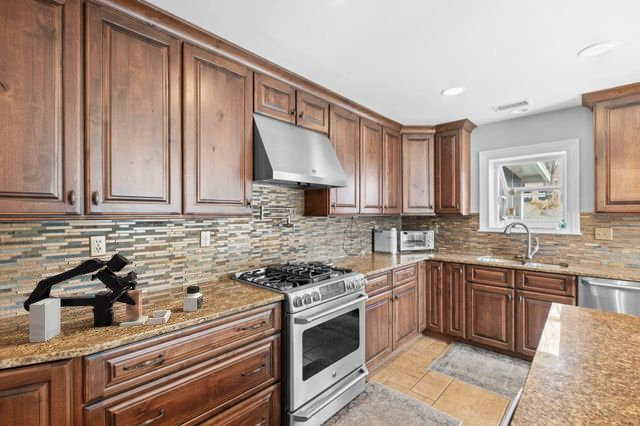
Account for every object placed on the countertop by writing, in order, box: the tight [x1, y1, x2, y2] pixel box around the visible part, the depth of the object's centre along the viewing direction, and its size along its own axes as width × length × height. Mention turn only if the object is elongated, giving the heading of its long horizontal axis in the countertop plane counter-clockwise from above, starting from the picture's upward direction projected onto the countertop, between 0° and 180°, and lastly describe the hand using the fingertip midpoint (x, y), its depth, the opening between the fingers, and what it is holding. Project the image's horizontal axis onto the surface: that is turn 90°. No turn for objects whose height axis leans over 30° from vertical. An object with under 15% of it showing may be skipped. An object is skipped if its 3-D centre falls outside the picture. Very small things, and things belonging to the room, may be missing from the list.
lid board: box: [119, 315, 149, 328], centre depth 139 cm, size 9×9×1 cm
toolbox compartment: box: [146, 309, 171, 326], centre depth 142 cm, size 7×12×2 cm, turn 16°
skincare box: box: [29, 299, 61, 343], centre depth 121 cm, size 8×6×15 cm
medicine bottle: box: [183, 284, 204, 312], centre depth 157 cm, size 7×7×12 cm
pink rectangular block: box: [125, 289, 143, 320], centre depth 139 cm, size 5×5×12 cm
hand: (137, 303), depth 139 cm, fingers closed on pink rectangular block, 5 cm apart
